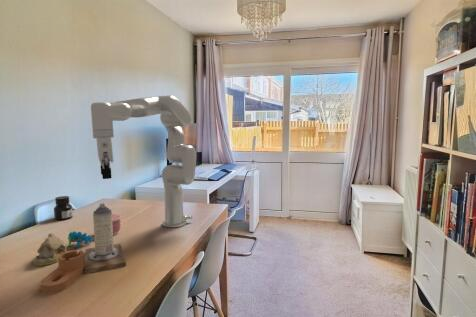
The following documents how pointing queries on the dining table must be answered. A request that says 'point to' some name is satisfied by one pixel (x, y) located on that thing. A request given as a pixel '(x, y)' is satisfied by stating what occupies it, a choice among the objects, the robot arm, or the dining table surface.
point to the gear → (78, 238)
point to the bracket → (64, 272)
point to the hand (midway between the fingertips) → (106, 176)
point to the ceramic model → (50, 250)
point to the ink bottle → (62, 208)
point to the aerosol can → (103, 231)
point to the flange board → (104, 260)
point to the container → (116, 223)
